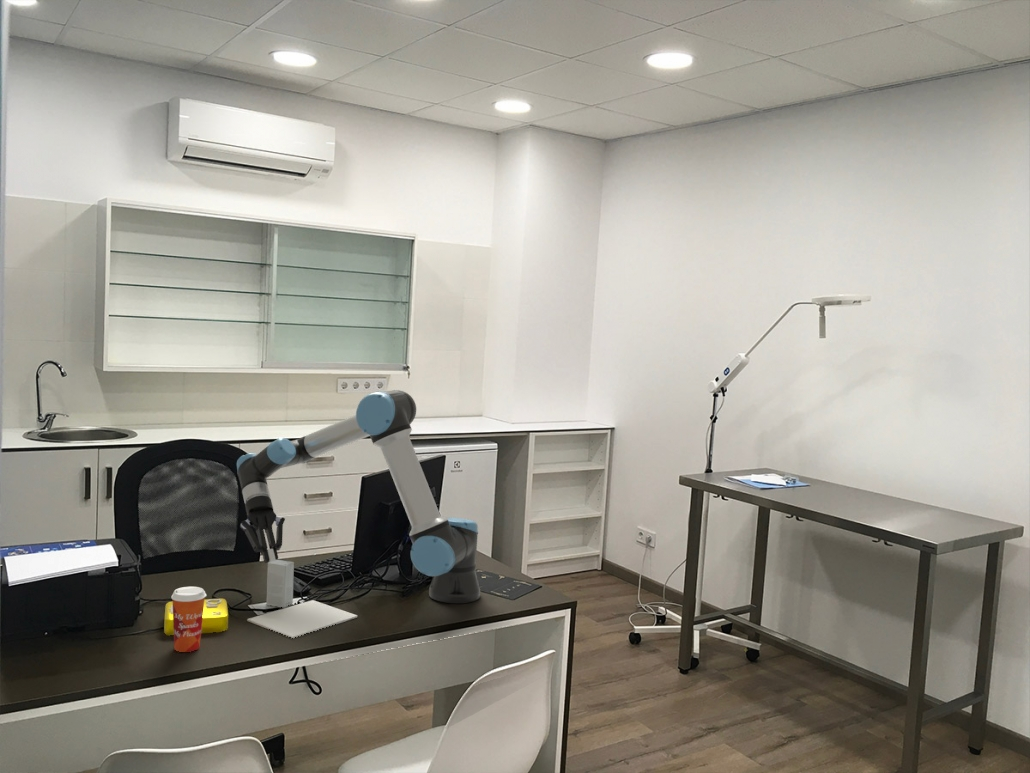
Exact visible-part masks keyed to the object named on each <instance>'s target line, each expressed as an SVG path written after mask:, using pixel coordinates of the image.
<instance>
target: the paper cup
mask: <svg viewBox="0 0 1030 773" xmlns="http://www.w3.org/2000/svg"><path fill="white" fill-rule="evenodd" d="M206 597H207V593H206V591H205V590H204V588H202V587H199V586H183V587H179V588H176V589H175V590H174V591H173V593H172V595H171V598H170V599H172V601H173V628H174V636H173V645H174V647H173V648H174V651H175V650H176V651H179V652H190V651H194V650H197V649H198V650H200V647H201V646H200V645H201V637H202V634H201V629H202V618H203V607H204V600H205V599H206ZM198 650H197V651H198ZM176 651H175V652H176ZM179 652H178V653H179ZM194 652H195V651H194ZM190 653H191V652H190Z"/></svg>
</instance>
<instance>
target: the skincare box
mask: <svg viewBox="0 0 1030 773" xmlns="http://www.w3.org/2000/svg"><path fill="white" fill-rule="evenodd" d="M294 569H295V562H294V561H290V560H289V561H288V560H282V559H278V560H274V561H271V562H268V563H267V575H266V606H270V605H272V606H271V607H275V606H278V607H277V608H281V607H282V608H281V609H284V608H287V607H289V606H291V605H293V604H292V603H294V571H295V570H294ZM290 604H291V605H290ZM288 605H289V606H288Z"/></svg>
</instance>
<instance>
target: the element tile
mask: <svg viewBox="0 0 1030 773" xmlns="http://www.w3.org/2000/svg"><path fill="white" fill-rule="evenodd" d="M164 611H165V612H164V619H163V620H164V624H163V626H164V627H163V628H164V629H163V634H164V633H165V634H166V636H170V635H174V628H173V600H172V601H168V602H167V603H166V604H165V610H164ZM228 629H229V609H228V602H227V600H226V599H225V598H207V599H206V598H204V607H203V618H202V629H201V635H202V634H214V633H213V632H216V633H223V632H222V631H224V632H226V631H228ZM225 630H226V631H225ZM165 634H164V635H165Z"/></svg>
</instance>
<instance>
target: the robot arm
mask: <svg viewBox="0 0 1030 773" xmlns="http://www.w3.org/2000/svg"><path fill="white" fill-rule="evenodd" d="M416 416H417V404H416V402H415V400H414V398H413V397H412V395H410V394H409V393H408V392H405V391H404V390H399V389H396V390H395V389H394V390H392V389H391V390H383V391H374V392H372V393H370V394H367V395H366V396H364V397H363V398H362V399H361V400H360V401H359V403H358V405H357V408H356V412H355V415H352V416H350V417H348V418H346V419H345V418H344V419H343V420H340V421H338V422H335V423H333V424H331V425H328V426H326V427H324V428H321V429H319V430H316V431H313V432H311V433H309V434H307V435H303V436H302V437H298V438H297V439H293V440H290V439H288V438H285V437H278V438H277V439H276V440H274V441H272V442H270V443H269V444H268V445H267V446H266V447H264V449H262V450H261V451H260V452H259V453H255V452H254V453H253V452H251V453H250V452H249V453H246V454H245V455H244V454H243V455H241V456H240V457H238V459H237V461H236V470H237V472H236V473H237V477H238V480H239V483H240V488H241V494H242V497H243V501H244V507H245V512H246V516H247V517H246V520H242V521H241V523H240V525H239V528H240V529H241V530H242V531H243V532H244V533H245V535H246V537H247V539H248V541H249V543H250V545H251V547H252V549H253V551H254V552H255V553H260V555H261V556H262V558H263V562H264V563H265V564H268V562H271V561H274V560H279V555H278V551H280V550H281V548H282V546H283V535H284V534H283V532H284V531H283V529H284V528H283V527H284V523H285V521H286V518H285V517H281V518H280V517H278V516H277V514H276V513H275V511H274V507H273V503H272V502H273V501H272V498H271V494H270V490H269V485H268V481H267V479H268V478H269V477H271V476H272V475H273V474H274V473H276V472H277V471H279V470H280V469H284V468H288V467H292V466H295V465H299V464H305V463H308V462H311V461H313V460H314V459H315V458H318V457H320V456H323V455H325V454H327V453H330V452H332V451H335V450H339V449H340V448H343V447H345V446H348V445H350V444H352V443H355V442H358V441H360V440H363V439H365V438H368V437H370V440H371V442H372V445H374V446H376V447H377V448H379V449H380V450H381V453H382V455H383V457H384V460H385V462H386V466H387V467H388V469H389V472H390V475H391V478H392V479H393V483H394V485H395V488H396V491H397V492H398V495H399V498H400V501H401V503H402V505H403V508H404V510H405V513H406V516H407V518H408V520H409V524H410V525H411V530H410V532H409V534H408V535H409V539H410V540H411V543H412V545H411V550H410V559H411V563H412V564H413V566H414V568H415V569H416V570H418V572H420V573H421V574H423V575H425V576H428V577H432V580H431V582H430V585H429V588H428V595H429V597H430V598H431V599H433V600H434V601H437V602H440V603H445V604H446V603H448V604H468V603H469V604H470V603H472V602H475V601H478V600H479V599H480V598H481V588H480V585H479V580H478V577H477V572H476V566H477V565H476V563H477V549H478V536H479V535H478V534H479V531H478V530H479V527H478V523H477V522H476V521H474V520H472V519H466V518H459V517H444V516H442V514H440V513H441V512H439V508H438V507H437V506H438V505H437V504H436V500H435V498H434V496H433V494H432V491H431V488H430V487H429V483H428V481H427V479H426V476H425V473H424V471H423V468H422V466H421V464H420V463H421V462H420V460H419V458H418V455H417V453H416V450H415V449H414V446H413V443H412V441H411V438H410V435H411V433H412V431H413V430H412V426H411V424H412V422H413V421H414V420H415V418H416ZM274 523H275V525H276V530H275V531H276V535H275V533H274V531H273V524H274ZM252 527H253V528H252ZM253 529H255V532H254V530H253ZM256 535H257V536H256ZM275 536H276V537H275ZM266 538H267V539H266ZM267 543H268V544H267Z"/></svg>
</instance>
